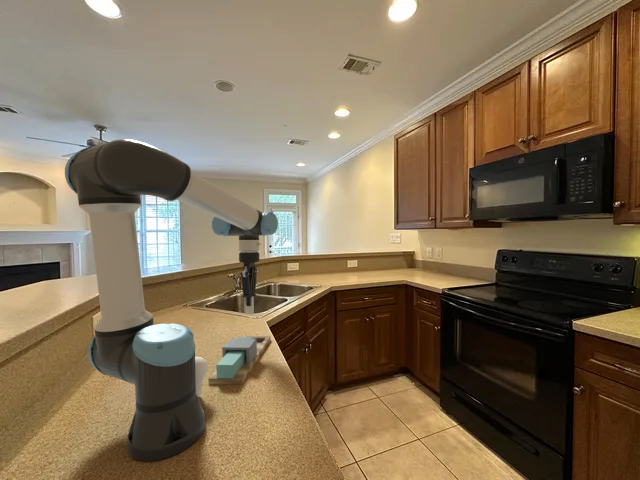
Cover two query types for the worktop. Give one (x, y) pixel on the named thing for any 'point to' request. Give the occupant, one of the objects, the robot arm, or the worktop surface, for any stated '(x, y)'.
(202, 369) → the lightbulb
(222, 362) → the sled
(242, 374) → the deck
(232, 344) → the tunnel
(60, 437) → the worktop surface
